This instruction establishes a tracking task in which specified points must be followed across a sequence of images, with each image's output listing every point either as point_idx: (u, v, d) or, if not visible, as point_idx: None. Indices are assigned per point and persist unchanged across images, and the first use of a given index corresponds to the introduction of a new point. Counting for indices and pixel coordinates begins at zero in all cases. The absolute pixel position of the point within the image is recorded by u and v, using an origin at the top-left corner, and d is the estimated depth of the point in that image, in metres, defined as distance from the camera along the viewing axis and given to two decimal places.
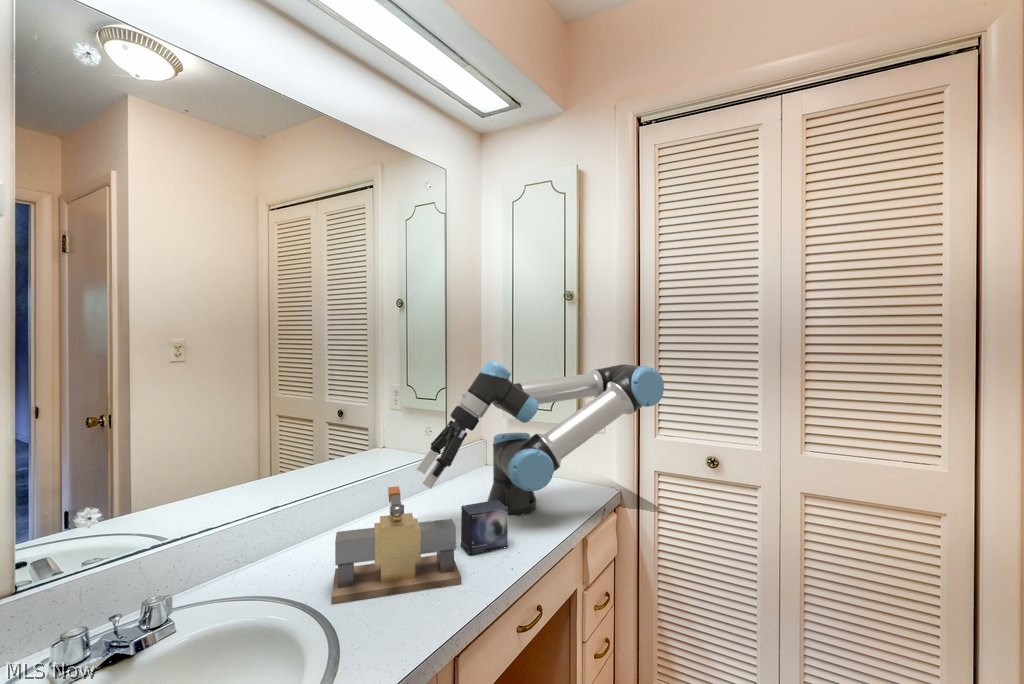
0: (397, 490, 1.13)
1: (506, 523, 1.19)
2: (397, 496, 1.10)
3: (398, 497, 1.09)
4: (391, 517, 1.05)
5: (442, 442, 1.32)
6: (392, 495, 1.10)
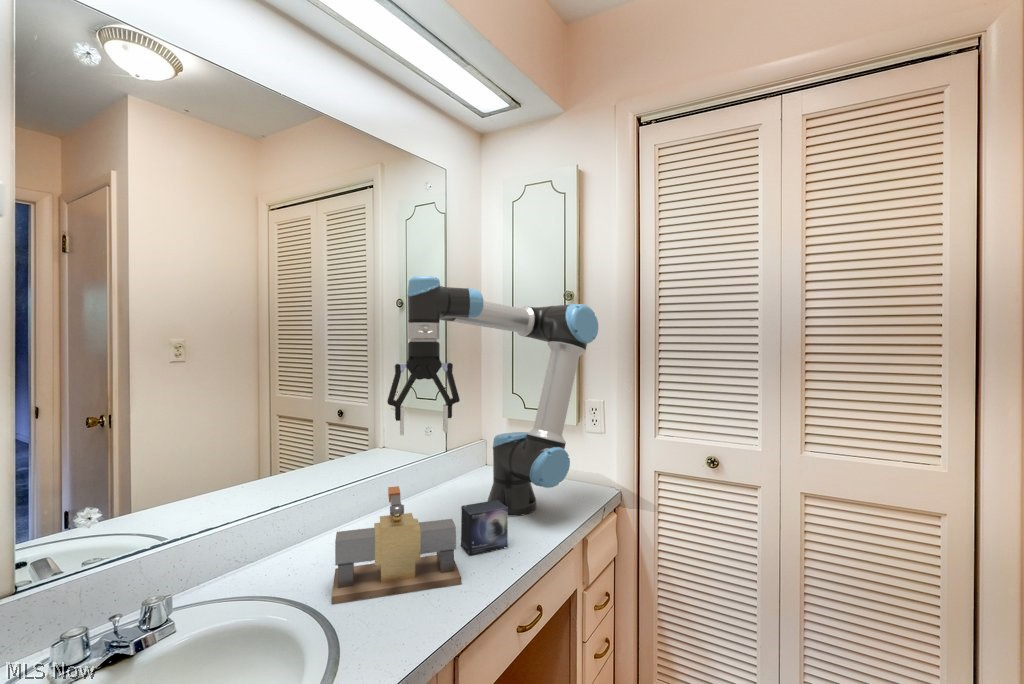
0: (397, 490, 1.13)
1: (506, 523, 1.19)
2: (397, 496, 1.10)
3: (398, 497, 1.09)
4: (391, 517, 1.05)
5: None
6: (392, 495, 1.10)
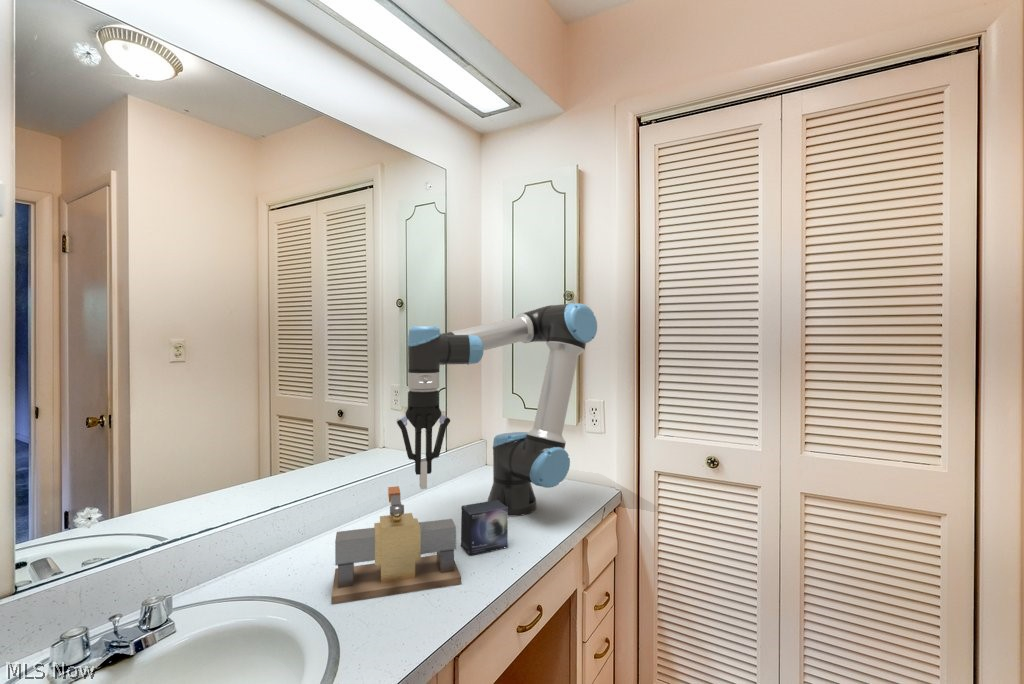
0: (397, 490, 1.13)
1: (506, 523, 1.19)
2: (397, 496, 1.10)
3: (398, 497, 1.09)
4: (391, 517, 1.05)
5: None
6: (392, 495, 1.10)
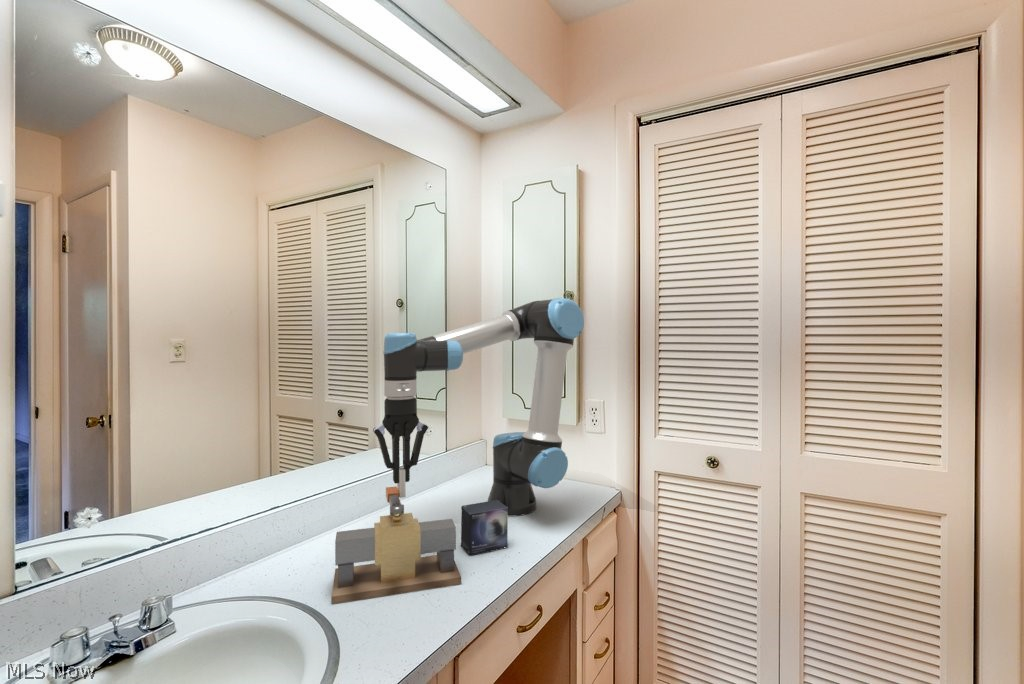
0: (395, 490, 1.13)
1: (506, 523, 1.19)
2: (396, 496, 1.10)
3: (397, 497, 1.09)
4: (391, 517, 1.05)
5: None
6: (391, 495, 1.10)
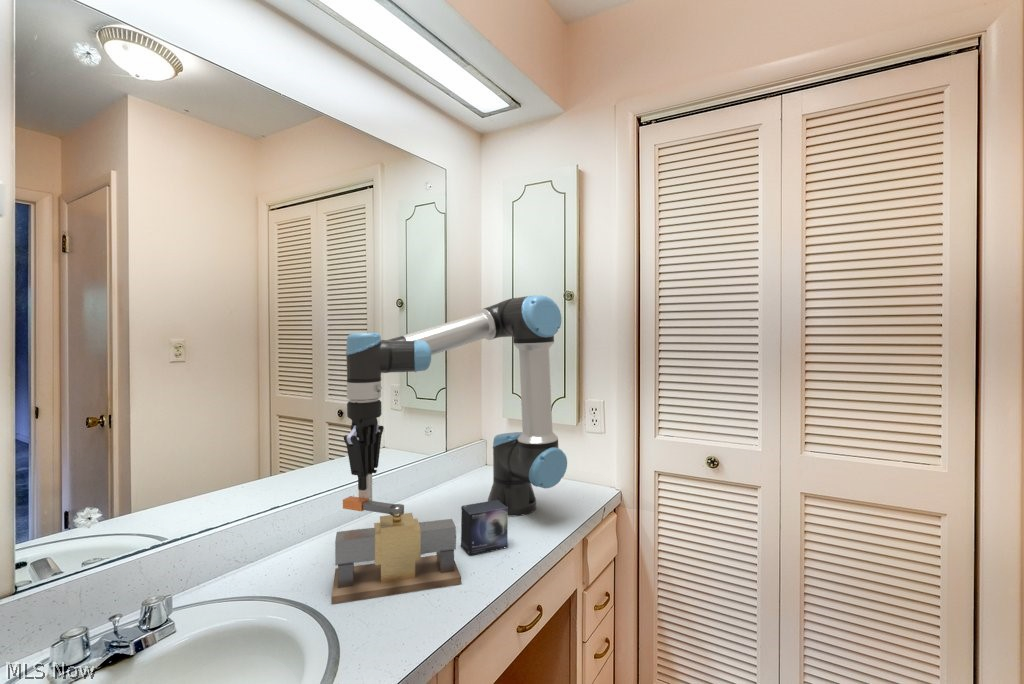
0: (360, 498, 1.08)
1: (506, 523, 1.19)
2: (373, 501, 1.06)
3: (376, 502, 1.06)
4: (391, 517, 1.05)
5: None
6: (366, 502, 1.06)
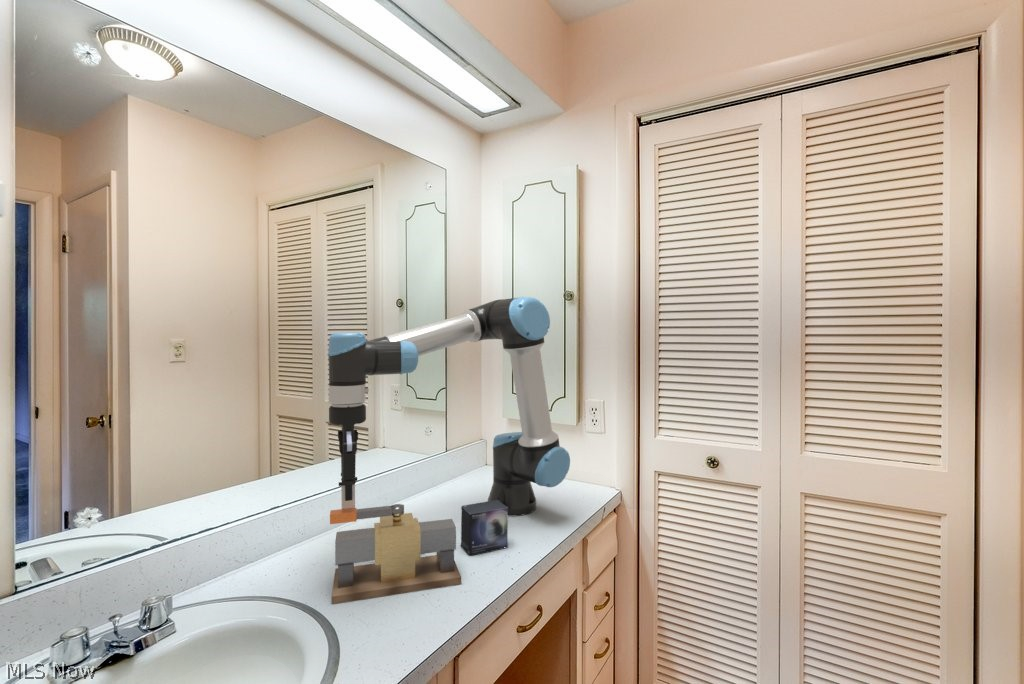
0: (346, 509, 1.01)
1: (506, 523, 1.19)
2: (364, 509, 1.02)
3: (368, 508, 1.02)
4: (391, 517, 1.05)
5: None
6: (359, 511, 1.00)
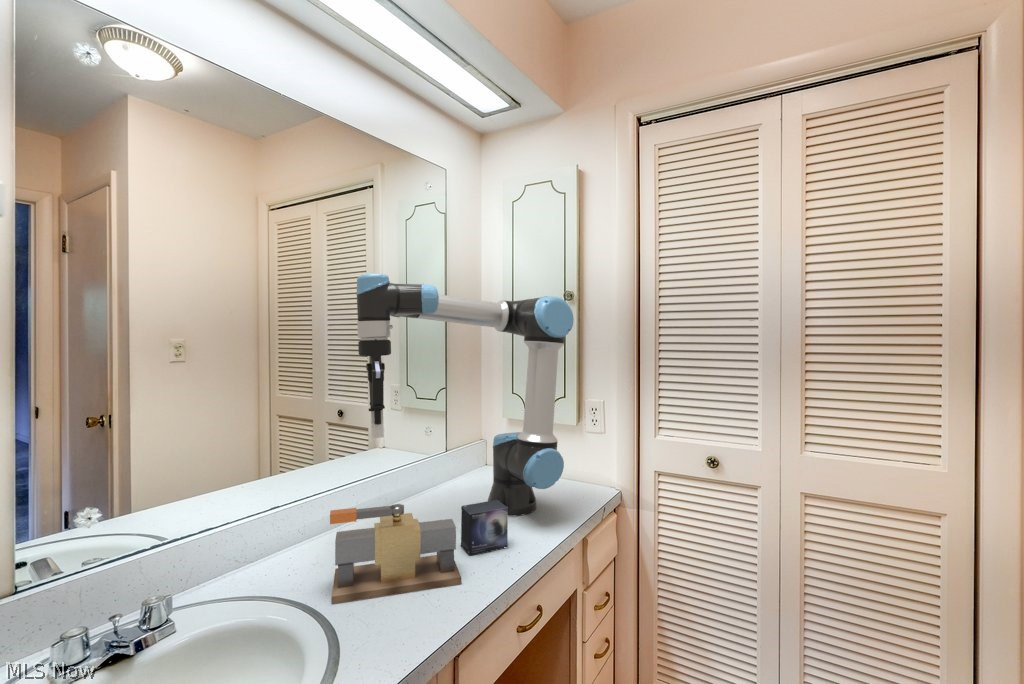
0: (346, 509, 1.01)
1: (506, 523, 1.19)
2: (364, 509, 1.02)
3: (368, 508, 1.02)
4: (391, 517, 1.05)
5: None
6: (359, 511, 1.00)
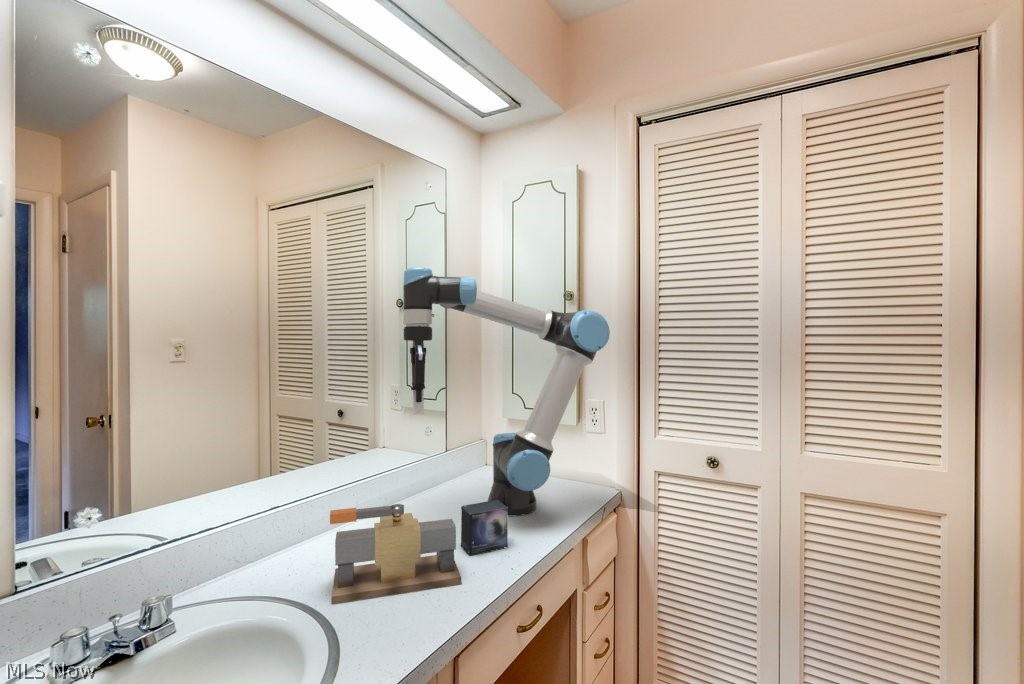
0: (346, 509, 1.01)
1: (506, 523, 1.19)
2: (364, 509, 1.02)
3: (368, 508, 1.02)
4: (391, 517, 1.05)
5: None
6: (359, 511, 1.00)
